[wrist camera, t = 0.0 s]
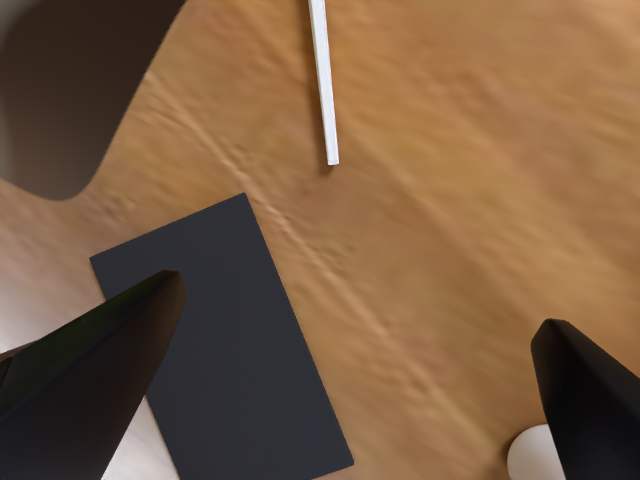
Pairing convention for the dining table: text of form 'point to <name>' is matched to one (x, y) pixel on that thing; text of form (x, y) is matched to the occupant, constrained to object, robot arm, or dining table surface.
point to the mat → (231, 354)
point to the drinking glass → (534, 456)
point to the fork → (324, 76)
